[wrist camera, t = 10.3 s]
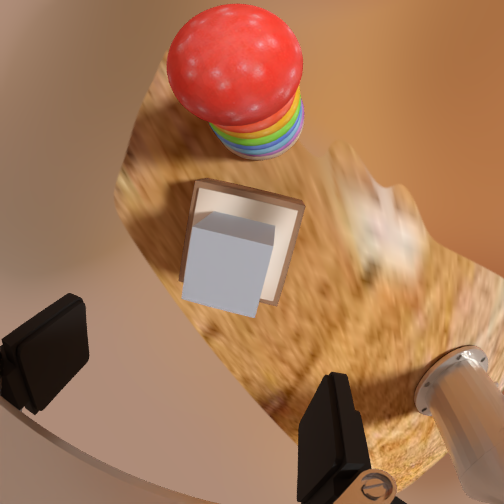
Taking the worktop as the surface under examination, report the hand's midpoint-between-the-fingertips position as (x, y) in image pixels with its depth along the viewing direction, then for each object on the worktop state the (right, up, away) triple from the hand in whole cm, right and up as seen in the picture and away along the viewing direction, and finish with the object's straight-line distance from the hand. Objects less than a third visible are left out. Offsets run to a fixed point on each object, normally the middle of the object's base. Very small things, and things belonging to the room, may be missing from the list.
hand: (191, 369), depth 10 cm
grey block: (+1, +5, +14) cm, 15 cm away
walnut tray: (+1, +6, +18) cm, 19 cm away
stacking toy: (+3, +16, +15) cm, 22 cm away
